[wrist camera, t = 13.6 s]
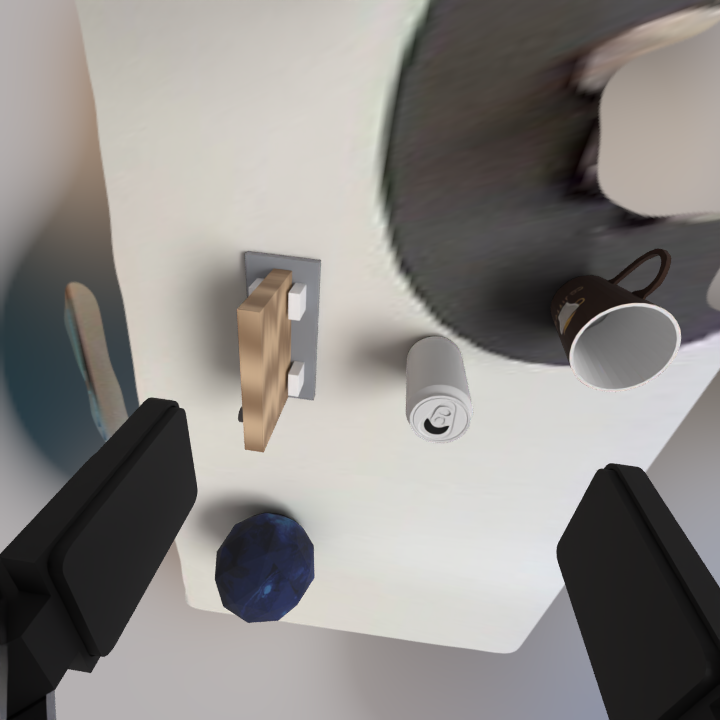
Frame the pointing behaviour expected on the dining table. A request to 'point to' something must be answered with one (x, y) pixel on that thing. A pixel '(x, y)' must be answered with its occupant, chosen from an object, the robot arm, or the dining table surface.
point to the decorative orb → (264, 567)
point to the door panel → (264, 357)
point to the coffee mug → (615, 329)
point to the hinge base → (294, 313)
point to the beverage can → (437, 391)
